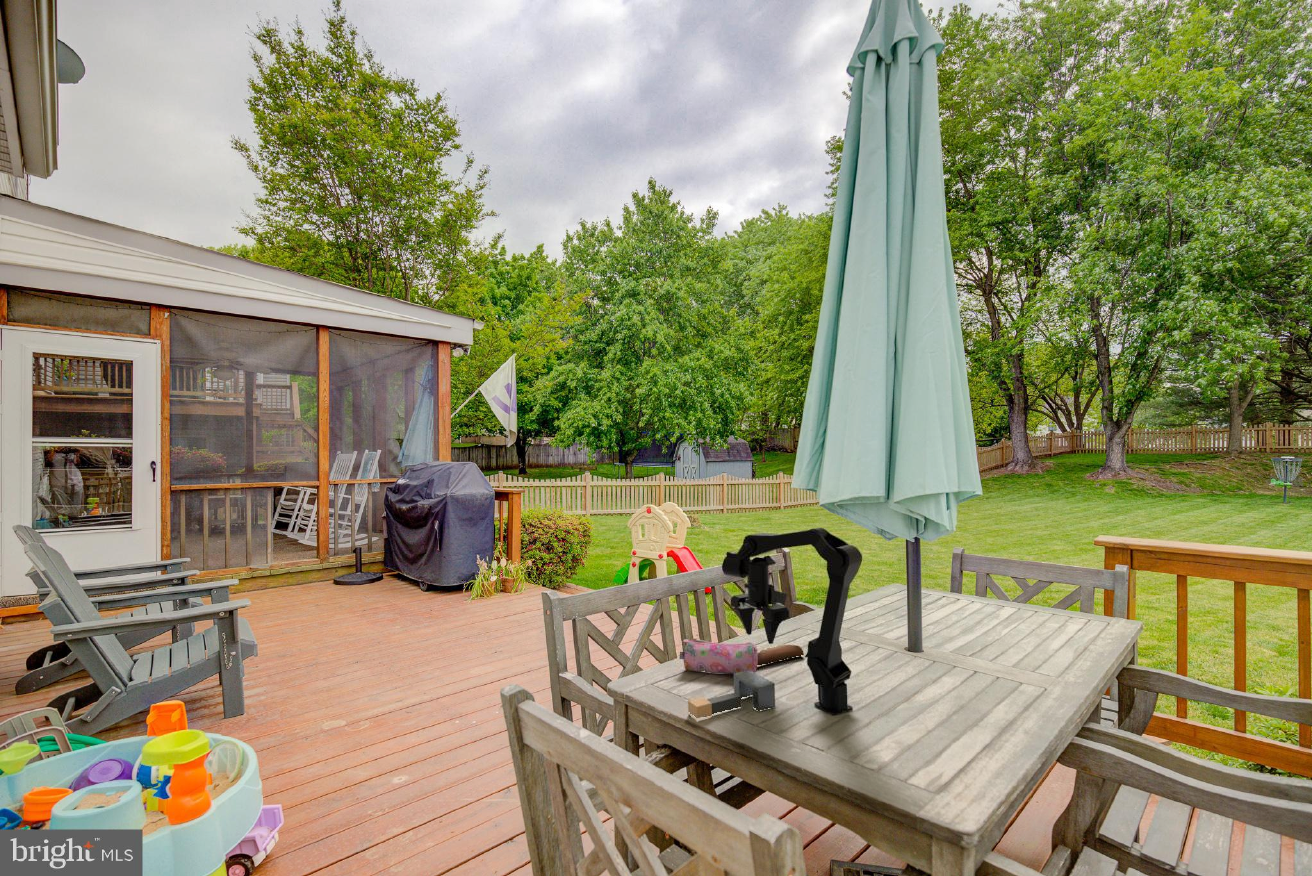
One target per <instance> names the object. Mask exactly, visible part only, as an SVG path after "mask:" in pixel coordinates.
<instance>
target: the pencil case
mask: <svg viewBox="0 0 1312 876" xmlns="http://www.w3.org/2000/svg"><path fill="white" fill-rule="evenodd" d="M682 643H686V645H685V648H684V651H680V653H679V660H682V661H683V666H684V669H689V670H688V671H692V670H694V671H693V672H700V671H705V672H711V673H710V674H713V673H725V674H724V675H726V674H727V675H730V674H731V675H734V674H735V673H739V672H744V671H748V670H750V671H752V672H754V673H756V672H757V671H756V670H757V669H758V667H757V664H758V656H757V653H758V648H757V646H756V645H755V644H753V643H752V642H745V643H719V642H714V641H713V642H712V641H711V642H710V641H706V640H704V639H702V640H701V639H697V638H689V639H687V638H686V639H685V638H684V639H683V641H682ZM755 671H756V672H755ZM733 673H734V674H733Z"/></svg>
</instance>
